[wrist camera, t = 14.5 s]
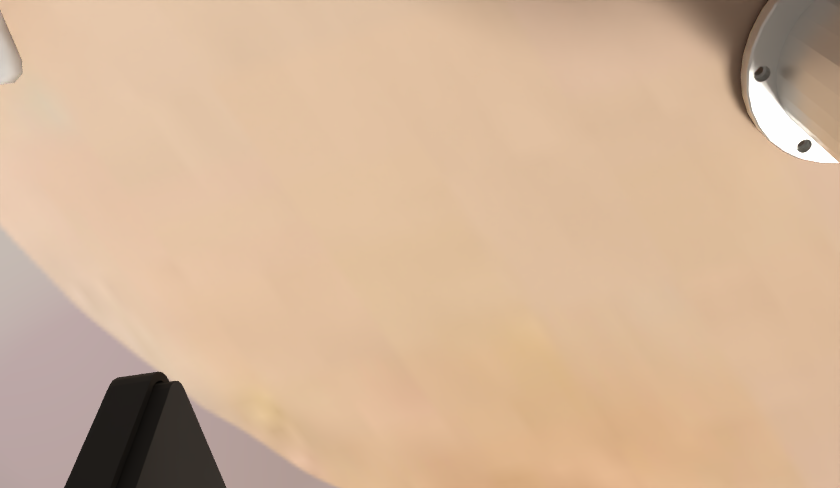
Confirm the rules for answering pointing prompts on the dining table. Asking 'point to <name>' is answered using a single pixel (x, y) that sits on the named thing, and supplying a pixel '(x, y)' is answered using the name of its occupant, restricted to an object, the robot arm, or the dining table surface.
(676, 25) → the dining table surface
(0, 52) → the white figure shaped piece
